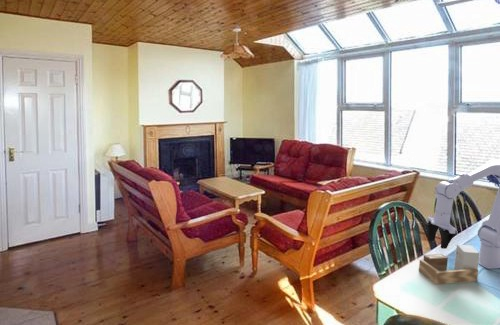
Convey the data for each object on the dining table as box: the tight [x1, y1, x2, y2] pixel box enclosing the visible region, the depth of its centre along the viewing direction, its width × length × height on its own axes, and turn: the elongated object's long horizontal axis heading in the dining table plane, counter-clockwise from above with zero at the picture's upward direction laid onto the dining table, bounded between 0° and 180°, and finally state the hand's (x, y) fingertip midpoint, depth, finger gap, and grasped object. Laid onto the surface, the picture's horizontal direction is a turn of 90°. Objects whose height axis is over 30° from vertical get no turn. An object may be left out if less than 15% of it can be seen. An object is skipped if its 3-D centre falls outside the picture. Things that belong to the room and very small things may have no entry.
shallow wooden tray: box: [418, 259, 479, 285], centre depth 144 cm, size 17×11×4 cm, turn 100°
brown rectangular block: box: [422, 253, 449, 271], centre depth 150 cm, size 4×8×5 cm, turn 100°
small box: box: [453, 243, 480, 271], centre depth 146 cm, size 8×6×10 cm
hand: (437, 244), depth 149 cm, fingers open, 7 cm apart
